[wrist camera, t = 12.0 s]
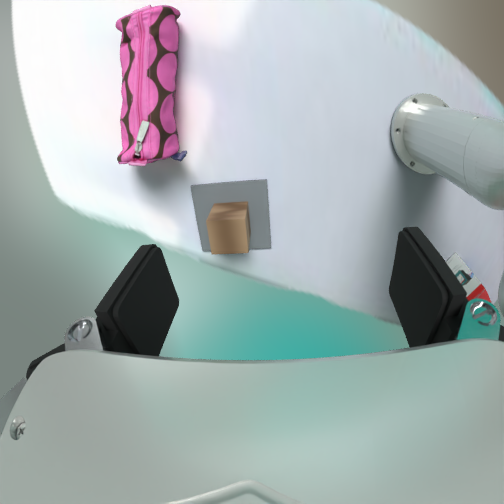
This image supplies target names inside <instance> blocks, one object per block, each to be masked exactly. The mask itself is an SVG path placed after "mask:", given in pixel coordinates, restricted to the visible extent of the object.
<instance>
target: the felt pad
mask: <svg viewBox="0 0 504 504" xmlns="http://www.w3.org/2000/svg"><path fill="white" fill-rule="evenodd" d="M191 192H192V198H193V203H194V209H195V214H196V220H197V225H198V230H199V235H200V240H201V245H202V250H203V251H211V247H210V242H209V236H208V230H207V224H206V220H207V218H208V216H209V213H210V211H211V209H212V207H213V205H214V203H229V202H245V201H248V206H249V217H250V229H251V235H250V243H249V249H260V248H271V236H270V220H269V204H268V189H267V179H265V180H248V181H234V182H222V183H211V184H201V185H191Z"/></svg>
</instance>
